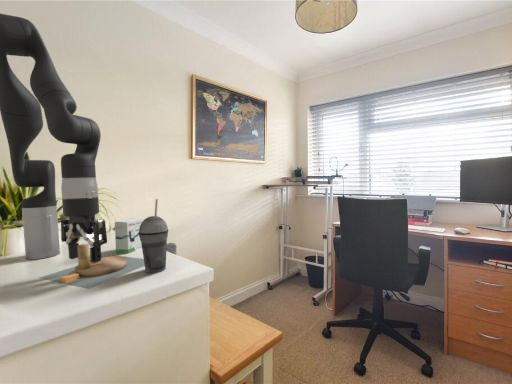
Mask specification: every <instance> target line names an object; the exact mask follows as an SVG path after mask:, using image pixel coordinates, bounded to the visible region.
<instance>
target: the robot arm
mask: <svg viewBox="0 0 512 384" xmlns="http://www.w3.org/2000/svg"><path fill="white" fill-rule="evenodd" d="M8 56H15V57H26V58H27V57H30V58H32V59H33V60H34V66H33V69H32V71H31V73H30V78H29V86H30V89H31V91H30V90H29V89H28V88H27V87H26V86H25V85H24V84H23V83H22V82H21V80H20V79H19V77H17V76H16V74H15V73H14V72H13V70H12V67H11V66H10V64H9V60H8ZM77 107H78V105H77V102H76V101H75V99H74V97H73V96H72V94H71V93H70V92H69V90H68V89H67V87H66V85H65V84H64V82H63V81H62V79H61V77H60V75H59V74H58V72H57V70H56V67H55V65H54V62H53V60H52V58H51V56H50V53H49V51H48V49H47V47H46V44H45V42H44V40H43V38H42V36H41V34H40V32H39V30H38V29H37V27H36V26H35V24H34V23H33V22H32V21H30V20H29V19H26V18H24V17H20V16H16V15H15V16H14V15H11V14H5V13H0V116H1V121H2V124H3V128H4V133H5V136H6V140H7V144H8V149H9V157H10V164H11V165H10V167H11V171H12V177H13V180H14V183H15V185H17V187H19V188H43V190H42V191H40V192H39V193H36V194H34V195H32V196H29V197H26V198H23V199H22V200H21V203H20V204H21V215H22V217H21V218H22V226H23V227H22V228H23V238H24V239H23V241H24V253H25V260H40V259H46V258H51V257H54V256H58V255H60V253H61V248H60V238H61V242H63V243H64V242H65V244H66V245H67V247H68V248H67V249H68V258H69V259H70V260H75V259H78V249H77V246H78V245H80V244H79V241H80V238H83V240H84V241H86V242H87V244H89V256H90V260H91V262H93V263H95V262H98V261H100V260H101V258H102V249H101V247H102V245H103V246H104V244H107V243H108V236H107V227H106V226H107V225H106V224H107V223H106V220H105V219H97V218H96V215H98V214H99V213H100V201H99V188H98V182H97V176H96V174H97V172H96V158H97V156H98V151H99V147H100V142H101V137H102V136H101V130H100V127H99V124H98V123H97V122H96V121H94V119H92V118H88V117H84V116H80V115H77V114H75V113H76V111H77ZM42 109H43V111H44V112H43V113H44V116H45V119H46V125H47V129H48V131H49V133H50V135H51V136H52V137H53V138H54V139H55V140H57V141H58V142H60V143H65V144H73V145H76V148H75V151H74V152H73V153H66V154H63V155H62V156H61V159H60V170H61V178H62V179H61V200H62V201H61V202H62V203H61V204H62V216H63V217H66V218H61V219H60V232H59V223H58V222H59V217H58V207H57V196H56V168H55V165H54V163H53V161H51V160H48V159H47V160H46V159H45V160H44V159H25V155H26V153H27V151H28V149H29V147H30V146H31V144H32V143H33V142H34V141H35V140H36V138H37V137H38V136H39V135H40V133H41V132H42V129H43V127H44V120H43V113H42ZM59 233H60V234H59ZM60 235H61V236H60ZM100 236H101V237H100Z"/></svg>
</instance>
